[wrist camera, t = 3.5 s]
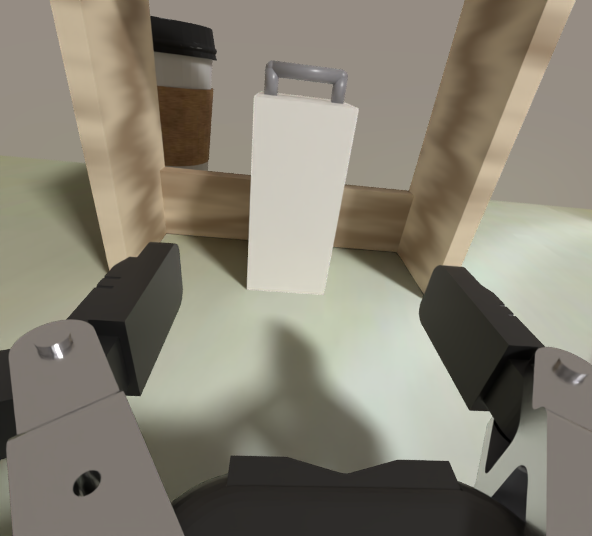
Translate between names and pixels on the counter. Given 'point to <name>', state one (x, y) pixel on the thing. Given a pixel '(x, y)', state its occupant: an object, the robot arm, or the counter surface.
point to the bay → (356, 199)
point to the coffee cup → (184, 90)
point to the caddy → (297, 179)
